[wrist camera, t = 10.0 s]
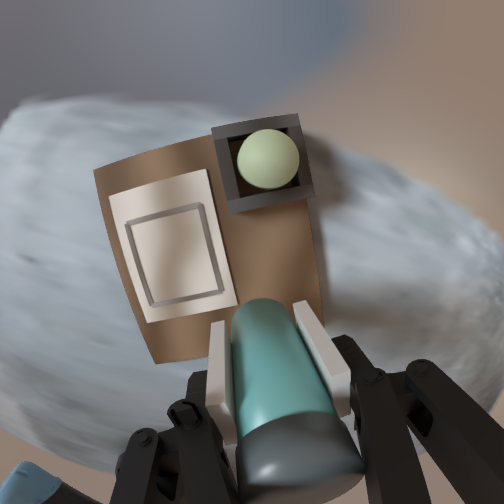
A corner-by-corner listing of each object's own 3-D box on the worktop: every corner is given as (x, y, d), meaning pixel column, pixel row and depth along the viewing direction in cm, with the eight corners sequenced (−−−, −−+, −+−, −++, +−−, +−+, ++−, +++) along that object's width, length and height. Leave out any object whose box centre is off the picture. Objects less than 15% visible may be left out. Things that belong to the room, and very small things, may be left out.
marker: (268, 360, 18) (306, 514, 7) (217, 333, 18) (213, 502, 6) (305, 316, 18) (388, 462, 6) (254, 284, 17) (299, 448, 5)
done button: (242, 192, 19) (246, 193, 16) (232, 142, 18) (233, 135, 15) (293, 182, 19) (304, 182, 16) (282, 133, 18) (292, 125, 15)
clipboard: (157, 357, 24) (150, 379, 21) (99, 170, 20) (79, 169, 16) (320, 322, 25) (333, 341, 22) (286, 123, 21) (297, 113, 17)
